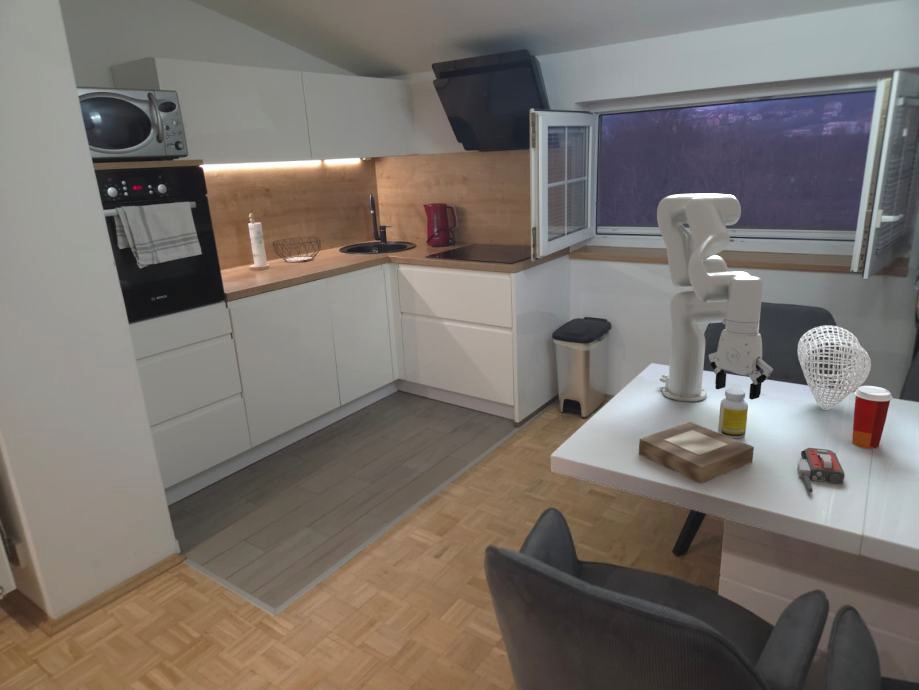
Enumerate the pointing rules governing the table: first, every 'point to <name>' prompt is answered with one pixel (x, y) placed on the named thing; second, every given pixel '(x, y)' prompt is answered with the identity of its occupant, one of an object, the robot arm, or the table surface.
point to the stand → (696, 451)
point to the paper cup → (870, 415)
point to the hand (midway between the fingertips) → (736, 393)
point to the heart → (858, 363)
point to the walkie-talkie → (819, 467)
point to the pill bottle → (733, 414)
